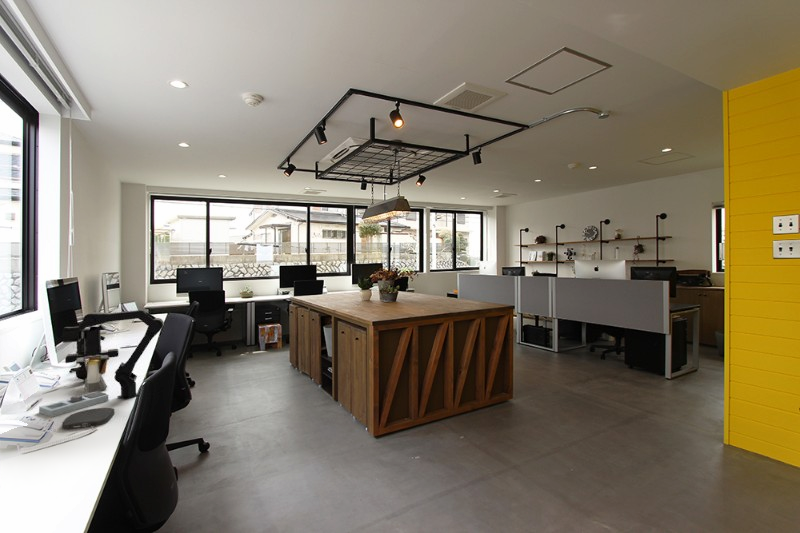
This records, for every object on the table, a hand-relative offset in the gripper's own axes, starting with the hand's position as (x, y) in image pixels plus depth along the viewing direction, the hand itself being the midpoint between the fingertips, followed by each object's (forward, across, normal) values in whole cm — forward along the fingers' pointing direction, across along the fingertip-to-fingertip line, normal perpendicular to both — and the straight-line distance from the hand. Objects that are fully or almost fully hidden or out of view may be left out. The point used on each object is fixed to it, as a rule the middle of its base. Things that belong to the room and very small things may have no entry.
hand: (93, 374), depth 175 cm
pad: (+10, 0, 0) cm, 10 cm away
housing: (+12, +6, +3) cm, 14 cm away
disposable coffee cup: (+12, +1, -52) cm, 54 cm away
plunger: (+12, +6, +3) cm, 13 cm away
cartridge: (+4, 0, 0) cm, 4 cm away
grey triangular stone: (+13, 0, -22) cm, 26 cm away
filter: (+12, +4, -37) cm, 39 cm away
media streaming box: (+13, 0, +26) cm, 29 cm away
